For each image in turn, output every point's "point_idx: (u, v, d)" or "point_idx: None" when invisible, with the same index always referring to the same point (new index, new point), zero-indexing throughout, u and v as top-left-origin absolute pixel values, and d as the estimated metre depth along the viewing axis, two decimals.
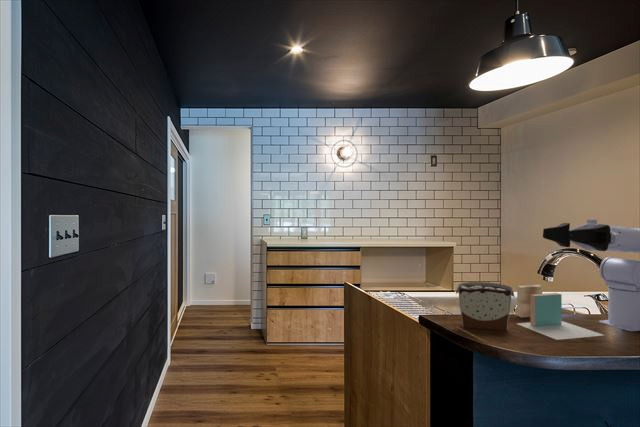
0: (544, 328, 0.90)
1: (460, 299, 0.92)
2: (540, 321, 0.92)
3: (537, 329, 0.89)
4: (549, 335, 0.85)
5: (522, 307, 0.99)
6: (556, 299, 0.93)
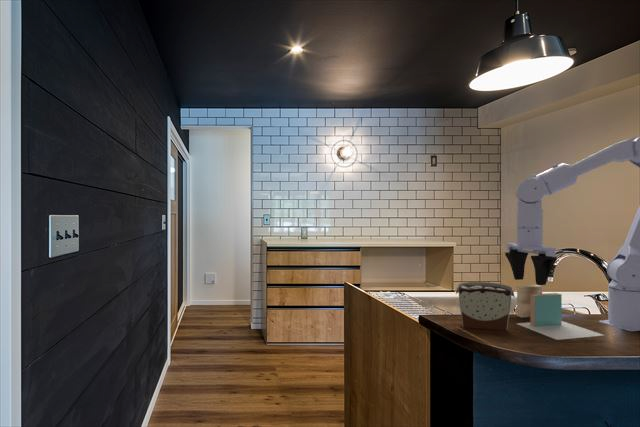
0: (544, 328, 0.90)
1: (460, 299, 0.92)
2: (540, 321, 0.92)
3: (537, 329, 0.89)
4: (549, 335, 0.85)
5: (522, 307, 0.99)
6: (556, 299, 0.93)
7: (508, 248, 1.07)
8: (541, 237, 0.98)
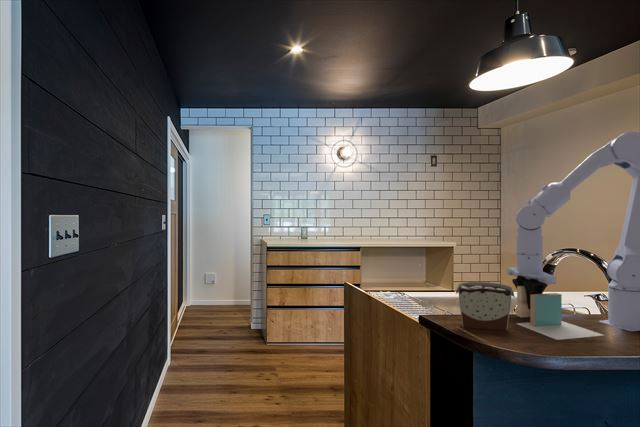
0: (544, 328, 0.90)
1: (460, 299, 0.92)
2: (540, 321, 0.92)
3: (537, 329, 0.89)
4: (549, 335, 0.85)
5: (522, 307, 0.99)
6: (556, 299, 0.93)
7: (508, 273, 1.07)
8: (541, 264, 0.98)
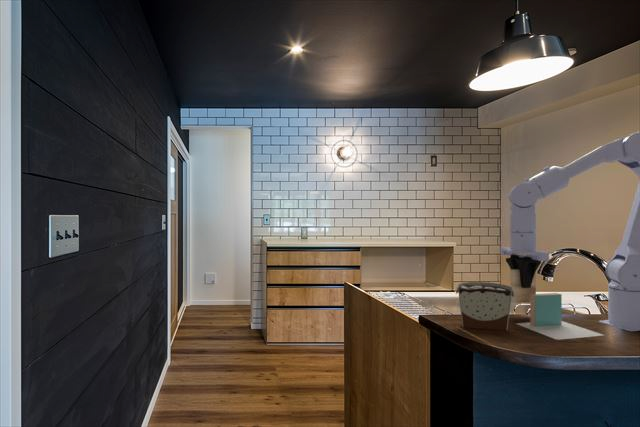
0: (544, 328, 0.90)
1: (460, 299, 0.92)
2: (540, 321, 0.92)
3: (537, 329, 0.89)
4: (549, 335, 0.85)
5: (515, 290, 0.99)
6: (556, 299, 0.93)
7: (502, 252, 1.06)
8: (534, 242, 0.98)
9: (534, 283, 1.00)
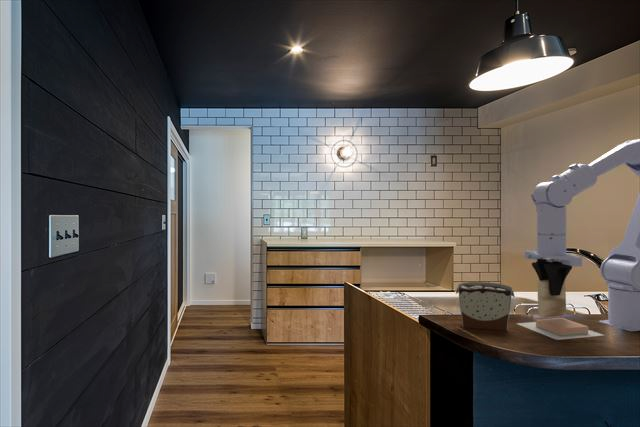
0: None
1: (460, 299, 0.92)
2: None
3: (537, 329, 0.89)
4: (549, 335, 0.85)
5: (543, 304, 0.90)
6: None
7: (526, 256, 0.97)
8: (565, 245, 0.89)
9: (564, 295, 0.91)
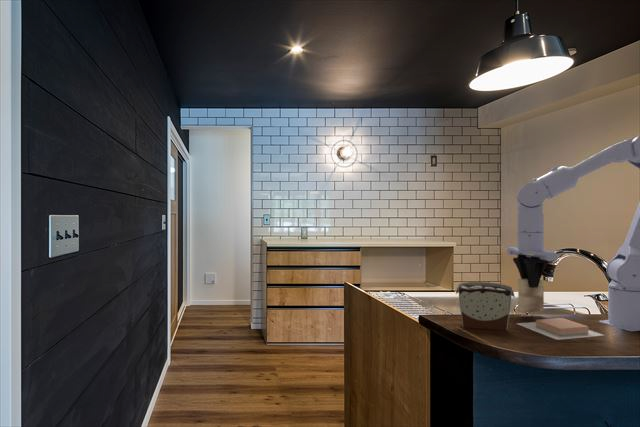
0: None
1: (460, 299, 0.92)
2: None
3: (537, 329, 0.89)
4: (549, 335, 0.85)
5: (523, 300, 0.99)
6: None
7: (509, 252, 1.06)
8: (542, 241, 0.98)
9: (542, 293, 1.00)
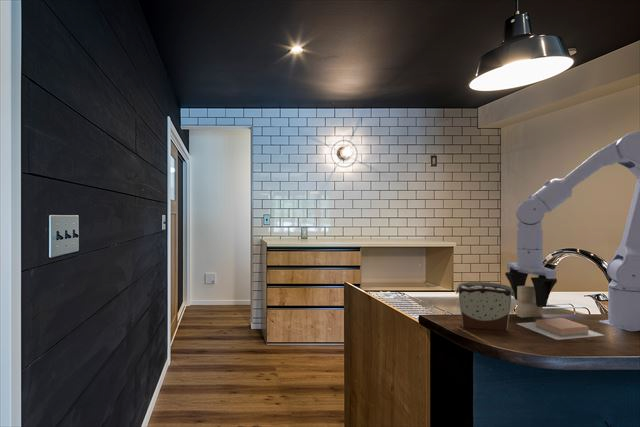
0: None
1: (460, 299, 0.92)
2: None
3: (537, 329, 0.89)
4: (549, 335, 0.85)
5: (522, 307, 0.99)
6: None
7: (508, 268, 1.07)
8: (541, 258, 0.98)
9: None
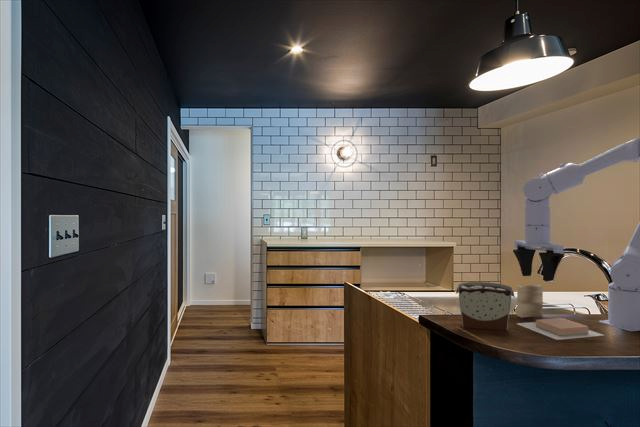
0: None
1: (460, 299, 0.92)
2: None
3: (537, 329, 0.89)
4: (549, 335, 0.85)
5: (522, 307, 0.99)
6: None
7: (516, 245, 1.10)
8: (549, 234, 1.01)
9: (541, 300, 1.01)
